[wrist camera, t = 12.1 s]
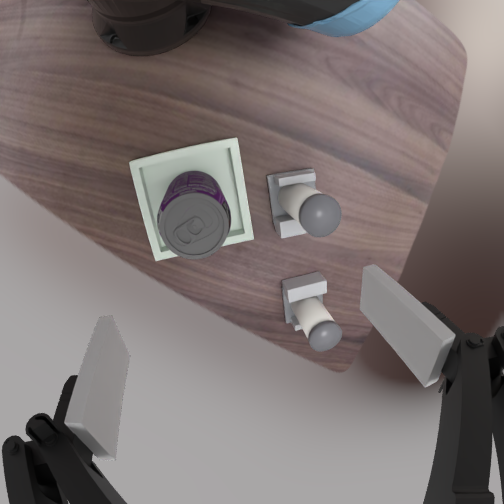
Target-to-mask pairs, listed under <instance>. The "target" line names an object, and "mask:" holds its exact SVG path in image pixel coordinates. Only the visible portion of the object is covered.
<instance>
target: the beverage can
mask: <svg viewBox="0 0 504 504" xmlns="http://www.w3.org/2000/svg"><path fill="white" fill-rule="evenodd" d="M157 227H158V231H159V234H160V236H161V238H162V240H163V242H164V243H165V245H166V246H167V247H168V249H169V250H170V251H172V252H173V253H174V254H176V255H178V256H180V257H183V258H186V259H201V258H205V257H208V256H210V255H212V254H213V253H215V252H216V251H217V250H219V249H220V247H221V246H222V245H223V244H224V242H225V240H226V238H227V236H228V233H229V231H230V227H231V212H230V208H229V205H228V203H227V201H226V199H225V197H224V195H223V192H222V190H221V188H220V186H219V184H218V183H217V181H216V180H215V179H214V178H213V177H212V176H210V175H209V174H207V173H204V172H201V171H188V172H184V173H182V174H180V175H178V176H177V177H176V178H175V179H174V180H173V181H172V182H171V183H170V185H169V186H168V189H167V191H166V193H165V195H164V198H163V200H162V202H161V205H160V207H159V210H158V214H157Z"/></svg>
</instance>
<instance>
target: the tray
mask: <svg viewBox="0 0 504 504" xmlns="http://www.w3.org/2000/svg"><path fill="white" fill-rule="evenodd" d="M129 164H130V168H131V173H132V177H133V181H134V185H135V189H136V193H137V197H138V201H139V205H140V209H141V213H142V216H143V220H144V224H145V227H146V231H147V234H148V238H149V241H150V244H151V248H152V251H153V254H154V258H155V261H158V260H162V259H167V258H171V257H176V256H178V255H176V254H174V253H173V252H172V251H170V250H169V249H168V247H167V246H166V245H165V243H164V242H163V240H162V238H161V236H160V234H159V231H158V227H157V214H158V210H159V207H160V205H161V202H162V200H163V198H164V195H165V193H166V191H167V189H168V186H169V185H170V183H171V182H172V181H173V180H174V179H175V178H176V177H177V176H178V175H180V174H182V173H184V172H188V171H201V172H204V173H207V174H209V175H210V176H212V177H213V178H214V179H215V180H216V181H217V183H218V184H219V186H220V188H221V190H222V192H223V195H224V197H225V199H226V201H227V203H228V205H229V208H230V212H231V227H230V231H229V233H228V236H227V238H226V240H225V242H224V244H223V245H222V246H225V245H230V244H234V243H239V242H243V241H248V240H253V239H254V236H253V230H252V224H251V218H250V212H249V206H248V200H247V194H246V188H245V182H244V176H243V170H242V164H241V158H240V152H239V146H238V140H237V138H235V137H234V138H228V139H223V140H217V141H212V142H207V143H202V144H197V145H192V146H188V147H183V148H179V149H175V150H170V151H166V152H162V153H158V154H154V155H150V156H146V157H143V158H139V159H135V160H132V161H130V162H129Z"/></svg>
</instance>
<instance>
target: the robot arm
mask: <svg viewBox="0 0 504 504" xmlns="http://www.w3.org/2000/svg"><path fill="white" fill-rule="evenodd" d="M87 1H88V2H89V3H90V4H91V5H92V19H93V25H94V28H95V30H96V32H97V34H98V35H99V37H100V38H101V39H102V40H103V41H104V42H105V43H106V44H107V45H108V46H109V47H111V48H112V49H114V50H116V51H118V52H120V53H123V54H127V55H133V56H148V55H155V54H160V53H163V52H166V51H169V50H172V49H174V48H176V47H178V46H180V45H182V44H183V43H185V42H186V41H188V40H189V39H190V38H192V37H193V36H194V35H195V34H196V33H197V32H198V31H199V30H200V29H201V27H202V26H203V25H204V23H205V22H206V20H207V18H208V16H209V13H210V9H211V5H215V6H220V7H225V8H230V9H235V10H240V11H244V12H249V13H253V14H257V15H261V16H264V17H268V18H272V19H275V20H278V21H282V22H285V23H287V24H288V25H289V26H292V27H294V28H302V29H308V30H312V31H315V32H318V33H321V34H324V35H327V36H331V37H341V36H352V35H355V34H357V33H360V32H362V31H364V30H366V29H368V28H370V27H371V26H373V25H374V24H376V23H377V22H378V21H380V20H381V19H382V18H383V17H385V16H386V15H387V14H388V13H389V12H390V11H391V10H392V9H393V8H394V6H395V5H396V4H397V3H398V1H399V0H87ZM360 310H361V311H362V312H363V314H364V315H365V316H366V317H367V318H368V319H369V321H370V322H371V323H372V324H373V325H374V326H375V328H376V329H377V330H378V331H379V332H380V333H381V335H382V336H383V337H384V338H385V339H386V341H387V342H388V343H389V344H390V345H391V346H392V348H393V349H394V350H395V351H396V352H397V354H398V355H399V356H400V357H401V359H402V360H403V361H404V362H405V364H406V365H407V366H408V367H409V368H410V370H411V371H412V372H413V373H414V375H415V376H416V377H417V378H418V379H419V381H420V382H421V383H422V385H423V386H424V387H427V386H429V385H431V384H432V383H435V382H436V381H437V380H438V378H439V376H440V374H441V372H442V373H443V374H444V375H445V378H444V381H443V382H442V385H441V387H440V389H439V393H440V392H441V390H442V389H443V394H442V407H441V415H440V424H439V432H438V438H437V444H436V450H435V456H434V461H433V466H432V471H431V475H430V480H429V483H428V487H427V491H426V495H425V499H424V502H423V504H494V498H495V497H494V494H493V493H492V492H490V491H489V489H488V485H489V477H490V467H491V454H492V432H493V437H494V441H495V447H496V452H497V457H498V464H499V471H500V479H501V488H502V499H503V504H504V374H503V372H502V371H503V369H504V326H502V327H499V328H498V329H497V330H496V332H495V335H494V336H493V337H489V338H484V339H483V338H482V337H481V336H480V335H478V334H475V333H466V334H465V333H464V332H463V331H462V330H460V329H459V328H458V327H457V326H456V325H455V324H454V323H453V322H452V321H450V320H449V319H448V318H446V316H445V315H443V313H441V312H440V311H439V310H438V309H437V308H436V307H434V306H433V305H431V304H429V303H427V302H423V303H420V302H419V301H418V300H417V299H415V298H414V297H413V296H412V295H411V294H410V293H409V292H407V291H406V290H405V289H404V288H403V287H402V286H400V285H399V284H398V283H397V282H396V281H395V280H393V279H392V278H391V277H390V276H389V275H388V274H386V273H385V272H384V271H383V270H381V269H380V268H379V267H378V266H377V265H375V264H374V265H369V266H365V267H363V278H362V290H361V301H360ZM129 359H130V354H129V352H128V350H127V348H126V345H125V343H124V341H123V339H122V337H121V334H120V332H119V330H118V328H117V325H116V323H115V320H114V318H113V316H112V315H111V316H104V317H99V319H98V322H97V324H96V327H95V329H94V332H93V335H92V337H91V340H90V343H89V345H88V348H87V351H86V353H85V356H84V359H83V363H82V365H81V368H80V371H79V374H78V375H73V376H70V378H69V379H68V380H67V381H66V383H65V384H64V387H63V390H62V394H61V397H60V399H59V400H60V401H59V403H58V406H57V409H56V412H55V415H54V419H53V420H52V419H51V418H50V417H49V415H47V414H45V413H39V414H36V415H34V416H33V417H32V418H30V419H29V421H28V423H27V425H26V434H27V435H28V436H29V437H30V438H31V439H32V440H33V441H28V442H24V441H23V440H22V439H21V438H20V437H19V436H11V437H9V438H7V439H6V441H5V442H4V444H3V446H2V455H3V466H4V474H5V481H6V487H7V493H8V498H9V503H10V504H68V501H69V503H70V504H127V503H126V502H125V501H124V500H123V498H122V497H121V496H120V495H119V494H118V492H117V491H116V490H115V489H114V488H113V486H112V485H111V484H110V483H109V481H108V480H107V479H106V478H105V476H104V475H103V474H102V472H101V471H100V470H99V469H98V467H97V466H96V464H95V463H94V462H93V461H92V455H93V454H94V455H95V456H96V457H97V458H98V459H99V460H116V450H117V441H118V432H119V424H120V416H121V409H122V401H123V395H124V389H125V382H126V377H127V371H128V365H129ZM67 500H68V501H67Z"/></svg>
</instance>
